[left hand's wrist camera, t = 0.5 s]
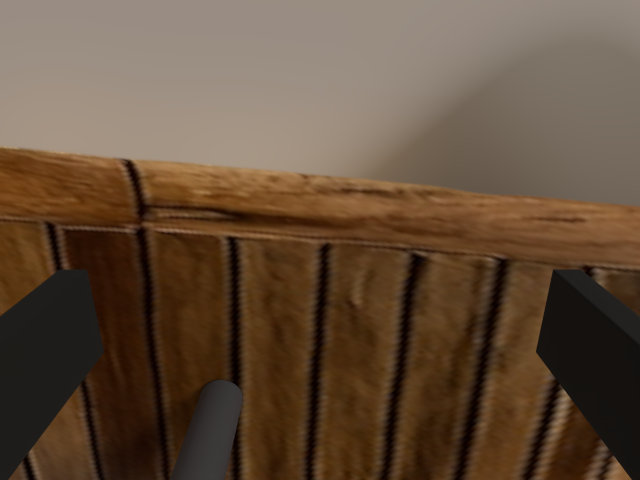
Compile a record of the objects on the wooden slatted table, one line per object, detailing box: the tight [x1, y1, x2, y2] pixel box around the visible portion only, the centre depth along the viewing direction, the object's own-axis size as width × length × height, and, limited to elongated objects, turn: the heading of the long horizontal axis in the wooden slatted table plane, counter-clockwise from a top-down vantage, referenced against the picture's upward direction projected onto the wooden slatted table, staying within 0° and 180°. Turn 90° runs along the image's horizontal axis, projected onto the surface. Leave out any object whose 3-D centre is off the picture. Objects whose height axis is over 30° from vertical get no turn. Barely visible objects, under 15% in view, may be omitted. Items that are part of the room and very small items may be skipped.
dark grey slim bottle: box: [170, 380, 243, 480], centre depth 40 cm, size 4×4×20 cm
